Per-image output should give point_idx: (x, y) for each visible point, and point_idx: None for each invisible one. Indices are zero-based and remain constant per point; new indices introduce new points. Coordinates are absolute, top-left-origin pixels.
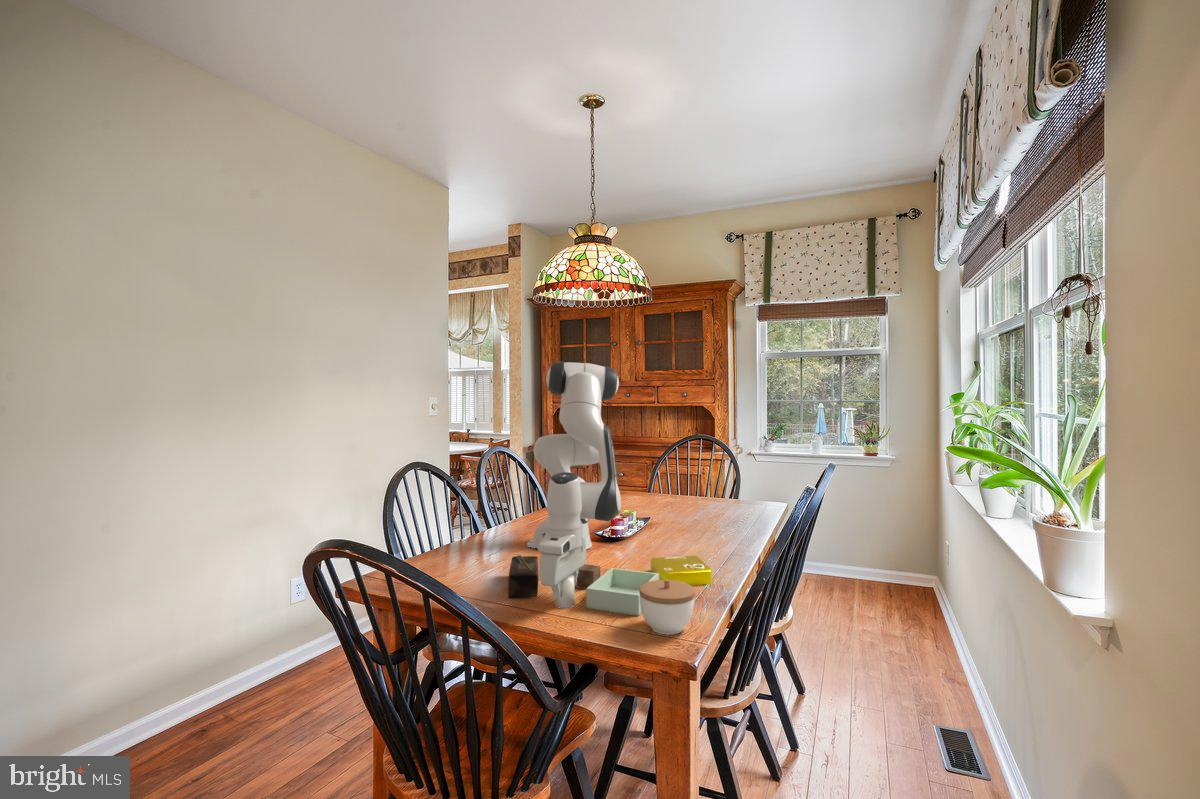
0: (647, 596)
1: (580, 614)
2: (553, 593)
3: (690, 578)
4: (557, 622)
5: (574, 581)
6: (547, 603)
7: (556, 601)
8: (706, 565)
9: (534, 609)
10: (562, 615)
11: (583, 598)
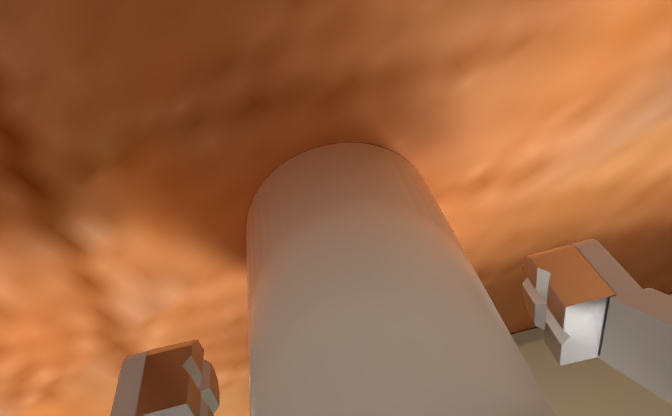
0: None
1: (249, 401)
2: (115, 405)
3: None
4: (13, 395)
5: (571, 359)
6: (265, 78)
7: (248, 245)
8: None
9: (19, 80)
10: (140, 345)
11: (542, 249)
